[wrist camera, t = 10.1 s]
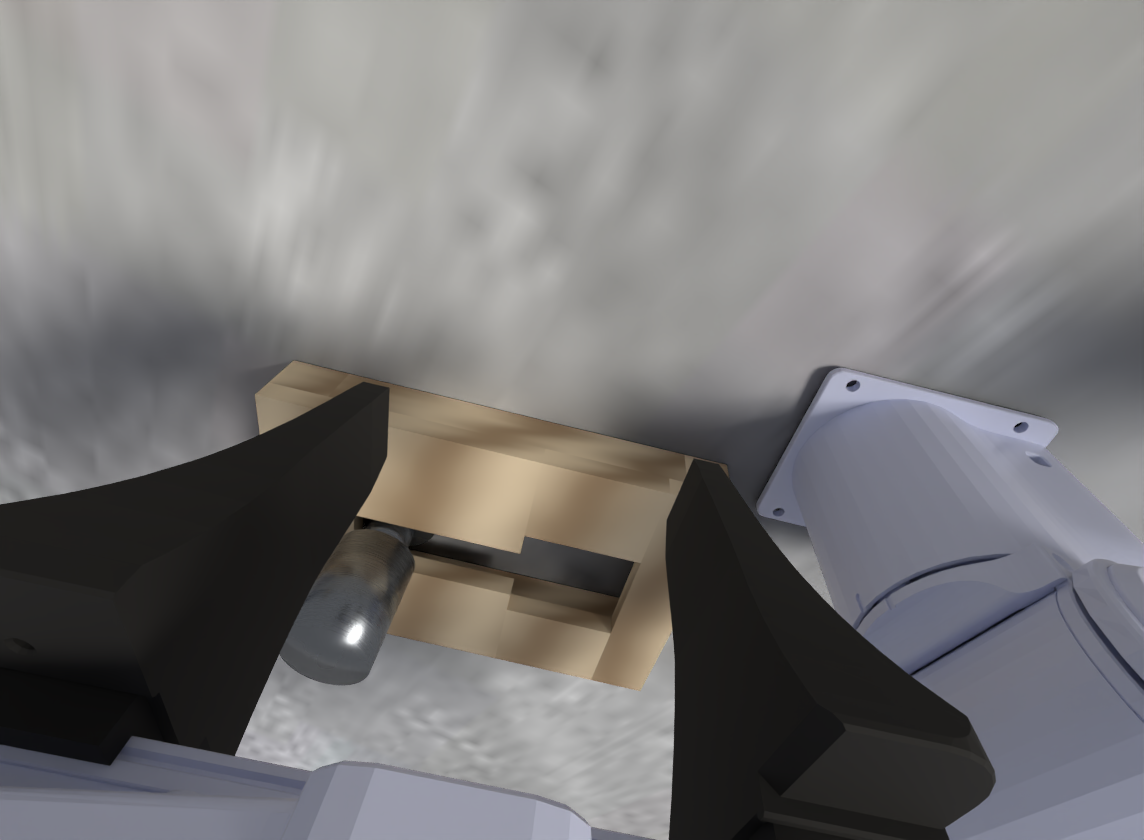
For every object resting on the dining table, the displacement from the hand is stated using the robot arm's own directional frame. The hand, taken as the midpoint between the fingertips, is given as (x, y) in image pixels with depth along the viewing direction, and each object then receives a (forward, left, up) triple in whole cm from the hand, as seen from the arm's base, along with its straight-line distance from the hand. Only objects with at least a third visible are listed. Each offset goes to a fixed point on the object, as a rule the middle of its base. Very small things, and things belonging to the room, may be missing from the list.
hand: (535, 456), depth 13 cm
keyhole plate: (+2, +13, -10) cm, 17 cm away
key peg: (+6, +13, -10) cm, 18 cm away
